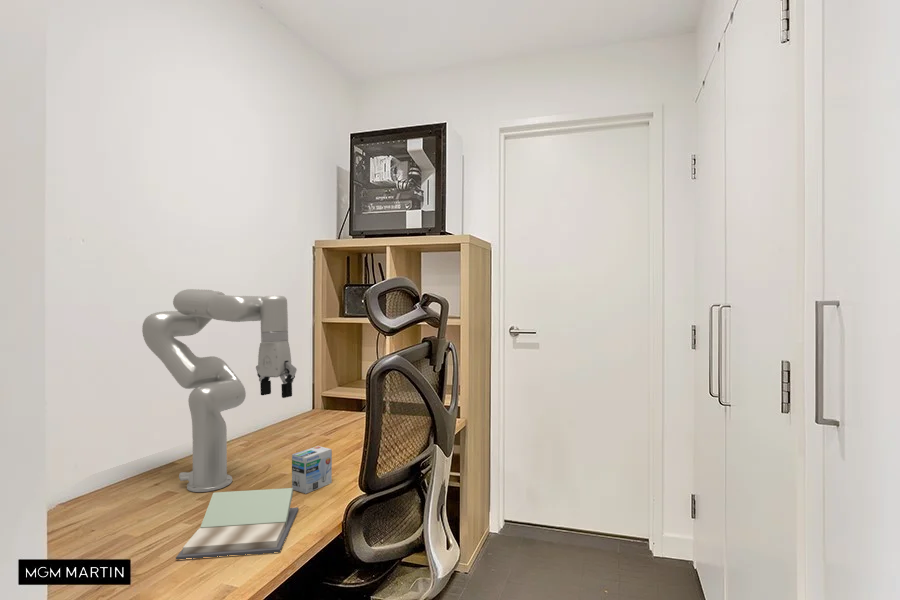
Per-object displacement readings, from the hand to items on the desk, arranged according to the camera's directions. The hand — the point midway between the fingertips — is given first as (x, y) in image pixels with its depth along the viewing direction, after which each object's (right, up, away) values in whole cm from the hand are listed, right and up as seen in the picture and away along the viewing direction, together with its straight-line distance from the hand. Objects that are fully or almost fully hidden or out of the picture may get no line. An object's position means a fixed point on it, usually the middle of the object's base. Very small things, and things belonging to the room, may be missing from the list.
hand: (276, 395), depth 138 cm
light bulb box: (+9, -30, +7) cm, 32 cm away
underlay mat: (0, -29, -22) cm, 37 cm away
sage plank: (0, -26, -18) cm, 31 cm away
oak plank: (+1, -28, -28) cm, 40 cm away
